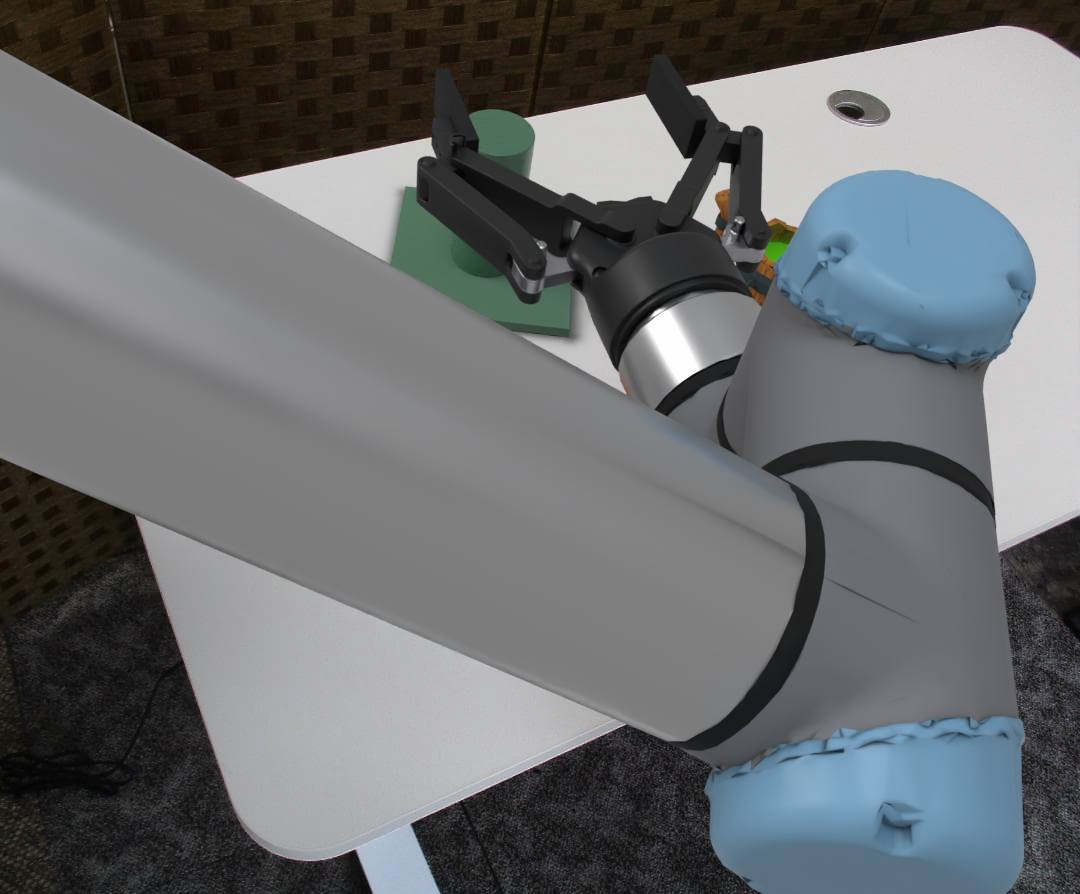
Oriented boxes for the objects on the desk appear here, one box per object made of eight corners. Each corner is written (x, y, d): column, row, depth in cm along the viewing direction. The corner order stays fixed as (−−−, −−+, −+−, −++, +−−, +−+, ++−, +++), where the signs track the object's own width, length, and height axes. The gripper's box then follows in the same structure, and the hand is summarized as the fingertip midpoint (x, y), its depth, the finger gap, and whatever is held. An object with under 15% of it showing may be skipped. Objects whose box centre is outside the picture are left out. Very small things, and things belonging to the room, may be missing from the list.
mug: (829, 345, 89) (880, 248, 80) (756, 397, 84) (802, 300, 75) (723, 262, 94) (760, 161, 85) (649, 306, 89) (679, 205, 80)
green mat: (382, 315, 85) (382, 307, 84) (405, 194, 94) (405, 185, 93) (568, 337, 86) (570, 329, 85) (572, 215, 95) (573, 207, 95)
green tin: (448, 273, 87) (456, 150, 77) (454, 227, 91) (463, 104, 80) (515, 281, 88) (533, 160, 77) (519, 235, 91) (536, 114, 81)
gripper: (432, 430, 48) (345, 152, 59) (875, 354, 55) (720, 118, 66) (439, 321, 42) (341, 36, 53) (935, 251, 49) (754, 12, 60)
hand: (551, 81), depth 60 cm, fingers open, 13 cm apart
